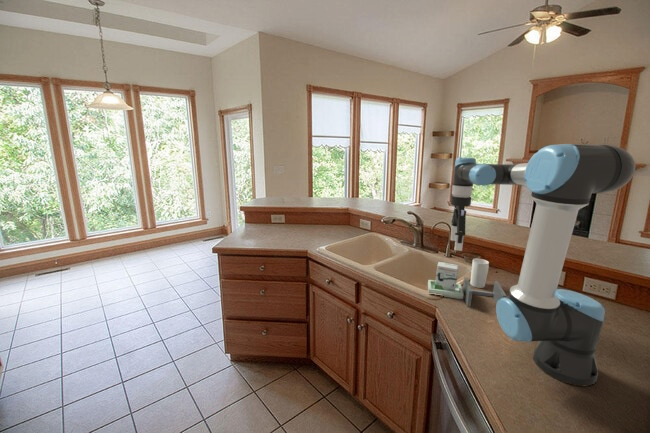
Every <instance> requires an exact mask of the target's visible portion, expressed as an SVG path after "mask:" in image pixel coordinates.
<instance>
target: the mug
mask: <svg viewBox="0 0 650 433" xmlns="http://www.w3.org/2000/svg"><path fill="white" fill-rule="evenodd" d="M489 264H490V262H489V261H488V260H486V259H483V258H473V259H472V264H471V272H470V281H469V283H470V286H471V287H474V288H478V289H479V288H480V289H483V288H485V286H486V283H487V282H486V281H487V275H488V273H489V268H490V267H489V266H490V265H489Z"/></svg>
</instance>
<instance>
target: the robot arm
mask: <svg viewBox="0 0 650 433" xmlns="http://www.w3.org/2000/svg"><path fill="white" fill-rule="evenodd" d="M476 159H477V158H475V157H457V158H456V159H455V162H454V167H453V168H454V170H453V179H452V180H453V182H452V186H451V194H452V195H451V198H450V199H451V200H450V205H452V206H454V207H453V214H452V218H451V232H450V241H452V242H454V251H460V252H462V251H463V245H464V236H465V235H466V222H467V221H466V220H467V219H466V218H467V210H465V207H466V208H467V207H471V204H472V197H471V196H472V195H473V191H474V190H475V188H474V187H473V186H474V185H476V186H482V187H484V186H485V187H486V186H489V185H493V186H494V185H496V186H497V185H505V186H507V185H509V186H511V185H512V186H522V185H524V186H526V188H527V189H528V190H529V191H530V192H531V195H530V198H531V199H532V200H533V201H534V202H535V209H534V213H533V218H532V223H531V226H530V230H529V234H528V238H527V243H526V247H525V251H524V254H523V255H524V257H523V259H522V260H523V261H522V264H521V269H520V273H519V278H518V282H517V284H515V285H512V286H511V287H510V288H509V293H508V297H506V298H502V299H500V300H499V301H498V302H497V304H495V306H496V307H495V312H496V313H495V314H496V318H497V321H498V324H499V326H500V328H501V329H502V331H503V332H504V334H505V335H506V336H508V338H509V339H511V340H513V341H515V342H526V343H531V342H538V343H537V345H536V346H535V347H534V349H533V354H532V360H533V361H534V363H535V365H536V366H537V367H538V368H539V369H540V370H541V371H543V372H544V373H545V374H547V375H549V376H550V377H552V378H554V379H556V380H558V381H560V380H561V381H560V382H563V381H564V382H563V383H565V382H567V383H566V384H568V383H571V384H570V385H572V384H575V385H574V386H576V385H591V384H594V383H595V382H596V383H597V380H598V376H599V370H598V366H597V365H598V364H597V359H596V349H597V346H598V342H599V338H600V334H601V331H602V328H603V324H604V321H605V319H604V318H605V314H606V310H605V309H606V308H605V307H604V306H603V305H602V304H601V302H599V301H598V300H596V299H594V298H592V297H590V296H588V295H585V294H582V293H579V292H576V291H573V290H569V289H562V288H558V286H559V281H560V278H561V274H562V271H563V267H564V263H565V261H566V256H567V253H568V249H569V246H570V243H571V239H572V235H573V232H574V228H575V226H576V225H575V224H576V220H577V217H578V213H579V211H580V210H581V209H583V208H584V207H586V206H588V205H590V200H591V198H592V194H605V193H610V192H614V191H616V190H619V189H622V187H624V186H625V185H627V184H628V183H629V182H630V181H631V179H632V178H633V176H634V175H635V171H636V161H635V158H634V157H633V156H632V155H631V153H630V152H628V150H626V149H624V148H622V147H620V146H617V145H610V144H578V143H577V144H575V143H574V144H573V143H572V144H571V143H562V144H549V145H547V146H544V147H542V148H540V149H538V151H536V152H535V153H534V154H533V155H532V156H531V158H530V159H529V161H528V162H523V163H509V164H508V163H507V164H506V163H505V164H503V163H502V164H501V163H500V164H499V163H498V164H497V163H490V164H489V163H477V160H476ZM596 383H595V384H596ZM595 384H594V385H595ZM591 386H592V385H591Z"/></svg>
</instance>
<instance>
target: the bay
mask: <svg viewBox="0 0 650 433" xmlns="http://www.w3.org/2000/svg"><path fill="white" fill-rule="evenodd" d="M493 284H494V285H493V291H492V292H491V291H484V290H476V289H472V285H471V284H470V281H469V279H468V277H466V276H465V277H463V285H462V290H463V293H464V295H463V299H464V301H465V304H466V307H468V308H471V305H472V297H473V295H477V296H484V297H492V298H493V299H494V302H495V303H496V304H495V305H497V302H498V301H499V300H500V299H502V298H508V297H507V294H506V292H505V291H504V290H503V287H502V286H501V284H500V282H499V281H498V280H494V283H493Z"/></svg>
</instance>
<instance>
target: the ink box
mask: <svg viewBox="0 0 650 433" xmlns="http://www.w3.org/2000/svg"><path fill="white" fill-rule="evenodd" d="M436 266H437V267H436V275H435V288H434V289H439V290H446V291H453V292H455V288H456V283H457V280H458V272H459V265H458V264H453V263H449V262H441V261H438V263H437V265H436Z"/></svg>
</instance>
